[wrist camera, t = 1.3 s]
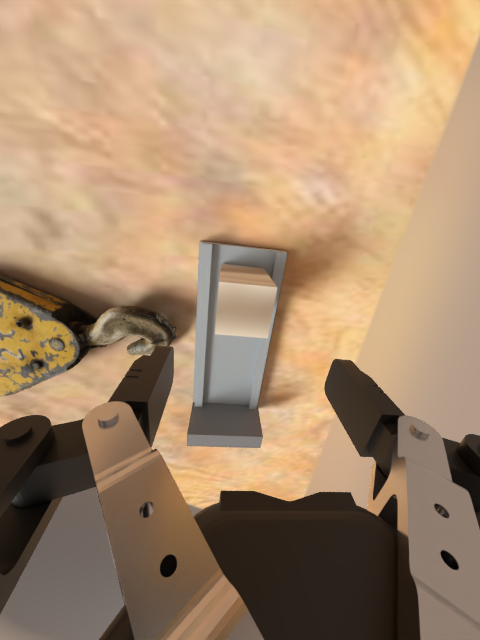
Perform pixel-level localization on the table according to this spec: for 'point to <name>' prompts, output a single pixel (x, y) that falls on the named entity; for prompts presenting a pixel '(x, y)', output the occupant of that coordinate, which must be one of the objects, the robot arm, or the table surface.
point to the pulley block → (63, 334)
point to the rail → (228, 355)
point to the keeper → (244, 301)
